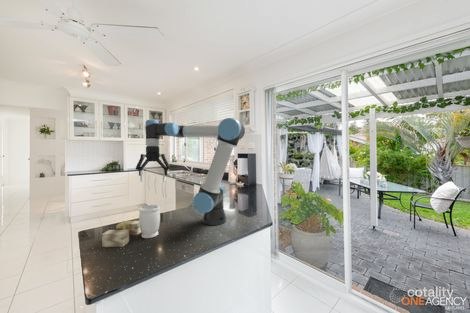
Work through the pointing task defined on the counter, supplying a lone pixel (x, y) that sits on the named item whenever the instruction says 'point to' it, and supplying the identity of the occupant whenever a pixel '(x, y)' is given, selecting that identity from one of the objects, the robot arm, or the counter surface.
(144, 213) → the jar
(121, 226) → the yellowish stone chunk
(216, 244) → the counter surface
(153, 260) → the counter surface
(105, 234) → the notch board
